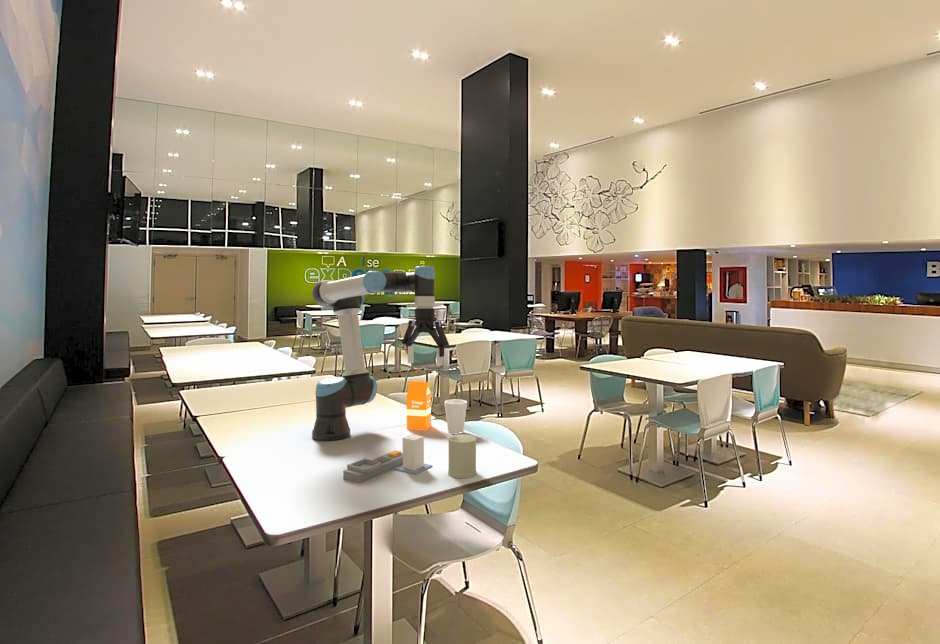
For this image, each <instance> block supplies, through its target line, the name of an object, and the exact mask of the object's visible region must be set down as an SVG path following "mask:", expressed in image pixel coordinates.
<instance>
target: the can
mask: <svg viewBox="0 0 940 644" xmlns="http://www.w3.org/2000/svg"><path fill="white" fill-rule="evenodd" d="M447 439H448V441H447V442H448V471H447V475H448V476H450V477H451V478H455V479H469V477H470V478H473V477H474V476H476V474H477V437H476V436H474V435H472V434H463V433H461V434H452V435H450V436H449V437H448V438H447Z"/></svg>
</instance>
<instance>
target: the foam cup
mask: <svg viewBox="0 0 940 644" xmlns="http://www.w3.org/2000/svg"><path fill="white" fill-rule="evenodd" d="M467 408H468V401H467V400H466V399H460V398H459V399H458V398H457V399H446V400H444V409H445V417H446V418H445V419H446V424H447V432H448V434H450V433H459V432H463V433H464V430H465V425H466V424H465V423H466V421H465V420H466V414H467Z"/></svg>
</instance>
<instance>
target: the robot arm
mask: <svg viewBox="0 0 940 644" xmlns="http://www.w3.org/2000/svg"><path fill="white" fill-rule="evenodd" d="M435 274H436V273H435V268H434V266H430V265H428V266H427V265H420V266H419V265H418V266H415V267H414V270H413V272H411V271H409V272H405V271H404V272H403V271H382V270H369V271H367V272H366V273H365V274H361V275H357V276H352V277H347V278H343V279H338V280H335V279H334V280H333V279H325V280H320V281H318V282H316V283H315V284H314V286H313V287H312V289H311V296H312V299H313V301H314V302H315V303H316V304H317V305H318V306H320V307H322V308H328V309H329V308H330V309H331V308H332V311H333V314H334V315H336V316H337V322H338V329H339V337H340V344H341V352H342V353H341V354H342V359H343V367H344V372H343V373H342V375H341V376H334V377H326V378H323V379H321V380H319V381H318V382H317V383H316V385H315V413H316V415H315V417H316V418H315V422H314V425H313V429H312V432H311V438H312V439H313V440H316V441H324V442H326V441H327V442H328V441H338V440H343V439H346V438H348V437H350V436H351V427H350V426H349V423H348V419H347V415H346V414H347V413H346V411H347V410H346V409H348V408H351V407H357V406H362V405H363V406H364V405H365V404H369V403H371V402H373V401H374V399H375V397H376V395H377V392H378V384H377V381H376V380H375V378H374V377H373V376H371V375H370V371H369V370H368V369H367V368H366V365H365V358H364V351H363V343H362V342H363V341H362V335H361V334H362V333H361V327H360V320H359V313H360V311H361V310H362V309H361V307H362V306H363V304H364V301H365V299H366V298H365V295H370V294H377V293H387V292H389V293H414V307H415V309H414V318H415V319H411V320H408V324H407V327H406V331H405V334H404V335H403V339H402V341H401V345H404V346H405V347H406V350H405V351H406V355H407V364H413V363H414V362H415V359H414V358H415V357H414V354H415V352H414V350H415V349H414V348H415V346H414V342H415V341H416V340H417V338H418V336H419V335H420V334H421V333H422V334H423V333H425V334H429V335H430V336H431V338H432V339H433V341H434V342H435V344H436V345H437V348H436V366H437V367H441V366H443V362H444V357H445V348H446V347H449V346H450V343H449V341H448V338H447V336H446V333H445V331H444V328H443V323H442V321H441V320H436V321H435V316H436V309H435V308H434V307H436V297H435V296H436V295H435V291H436V275H435Z"/></svg>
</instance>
